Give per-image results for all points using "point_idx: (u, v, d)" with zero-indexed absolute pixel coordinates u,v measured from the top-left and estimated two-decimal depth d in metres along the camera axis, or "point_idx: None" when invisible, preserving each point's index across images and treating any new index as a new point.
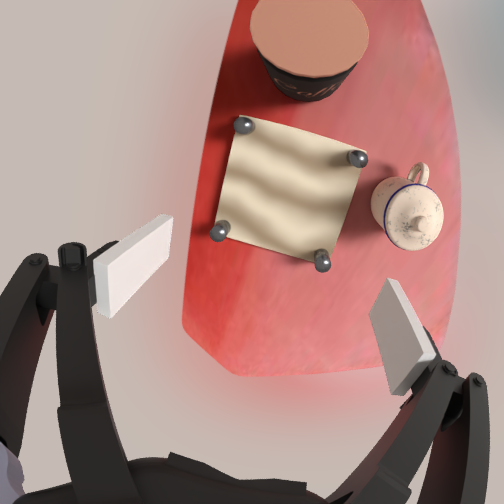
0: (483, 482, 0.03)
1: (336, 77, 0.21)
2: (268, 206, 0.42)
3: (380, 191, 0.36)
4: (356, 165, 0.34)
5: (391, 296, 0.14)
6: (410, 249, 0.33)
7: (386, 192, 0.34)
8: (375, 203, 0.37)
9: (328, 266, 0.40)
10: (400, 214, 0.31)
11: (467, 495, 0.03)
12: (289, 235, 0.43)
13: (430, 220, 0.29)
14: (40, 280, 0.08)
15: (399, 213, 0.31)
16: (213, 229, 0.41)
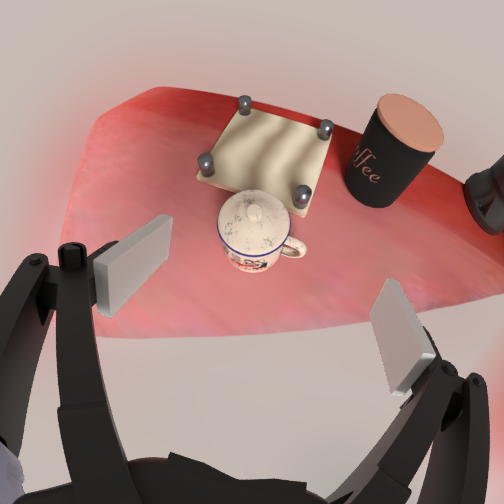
0: (483, 482, 0.03)
1: (380, 134, 0.32)
2: (258, 138, 0.48)
3: None
4: (298, 188, 0.40)
5: (391, 296, 0.14)
6: (220, 214, 0.34)
7: None
8: None
9: (203, 162, 0.42)
10: (261, 198, 0.34)
11: (467, 495, 0.03)
12: (231, 149, 0.47)
13: (256, 225, 0.32)
14: (40, 280, 0.08)
15: (263, 197, 0.34)
16: (248, 97, 0.47)
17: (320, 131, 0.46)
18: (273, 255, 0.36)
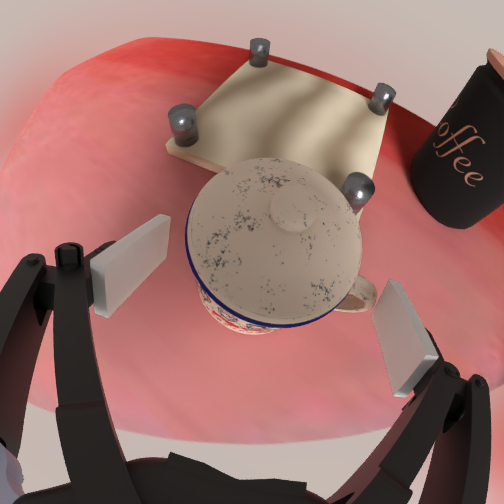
0: (484, 483, 0.03)
1: (499, 101, 0.11)
2: (277, 97, 0.27)
3: None
4: (350, 177, 0.20)
5: (393, 297, 0.14)
6: (196, 208, 0.13)
7: None
8: None
9: (176, 118, 0.21)
10: (301, 177, 0.14)
11: (468, 496, 0.03)
12: (231, 108, 0.26)
13: (297, 246, 0.11)
14: (37, 280, 0.08)
15: (304, 177, 0.14)
16: (266, 41, 0.27)
17: (375, 99, 0.26)
18: None
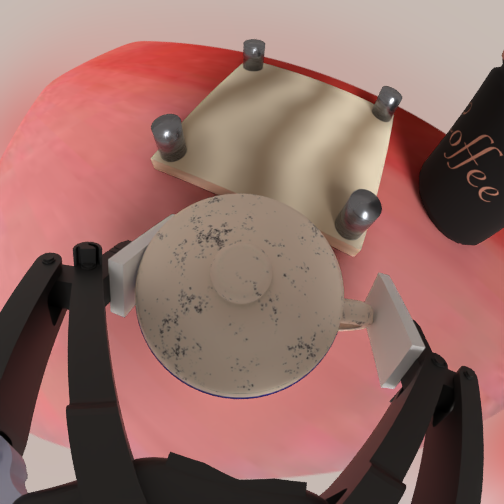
0: (478, 476, 0.04)
1: None
2: (273, 103, 0.25)
3: None
4: (354, 196, 0.18)
5: (382, 290, 0.14)
6: (138, 291, 0.11)
7: None
8: None
9: (159, 130, 0.19)
10: (247, 215, 0.11)
11: (463, 490, 0.03)
12: (223, 116, 0.24)
13: (258, 316, 0.09)
14: (53, 280, 0.08)
15: (251, 214, 0.11)
16: (261, 42, 0.25)
17: (379, 104, 0.24)
18: None
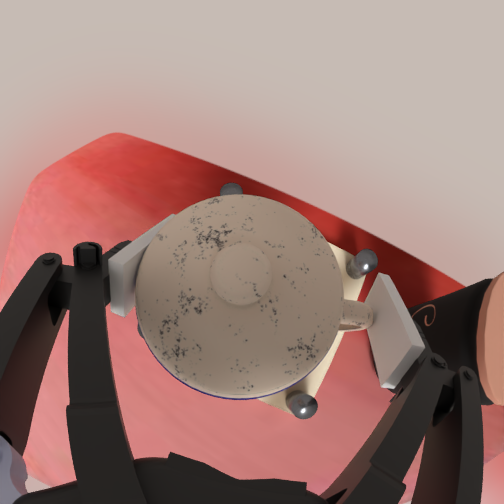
0: (478, 476, 0.04)
1: None
2: None
3: None
4: (296, 402, 0.22)
5: (382, 290, 0.14)
6: (138, 292, 0.11)
7: None
8: None
9: None
10: (247, 216, 0.11)
11: (463, 490, 0.03)
12: None
13: (258, 317, 0.09)
14: (53, 280, 0.08)
15: (250, 215, 0.11)
16: (239, 189, 0.29)
17: (353, 268, 0.29)
18: None
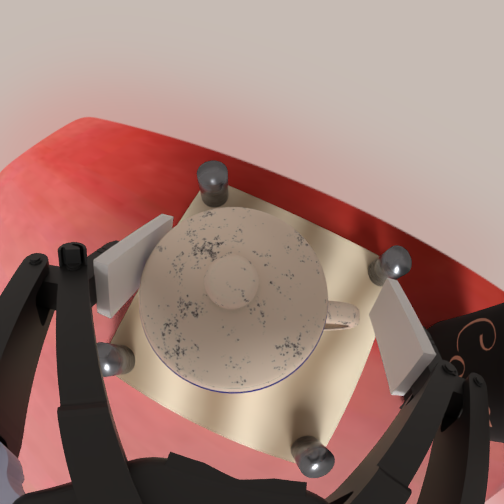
0: (483, 482, 0.03)
1: None
2: None
3: None
4: (306, 458, 0.14)
5: (391, 296, 0.14)
6: (142, 299, 0.12)
7: None
8: None
9: None
10: (238, 228, 0.13)
11: (467, 495, 0.03)
12: None
13: (248, 319, 0.10)
14: (40, 280, 0.08)
15: (241, 227, 0.13)
16: (223, 168, 0.21)
17: (378, 272, 0.21)
18: None
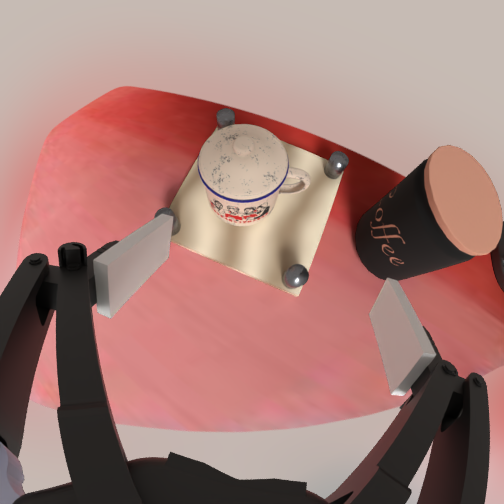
0: (483, 482, 0.03)
1: (421, 218, 0.21)
2: None
3: None
4: (290, 270, 0.30)
5: (391, 296, 0.14)
6: (201, 162, 0.26)
7: None
8: None
9: None
10: (244, 131, 0.26)
11: (467, 495, 0.03)
12: (204, 191, 0.35)
13: (251, 161, 0.24)
14: (40, 280, 0.08)
15: (245, 130, 0.26)
16: (231, 112, 0.34)
17: (328, 167, 0.35)
18: (276, 194, 0.29)
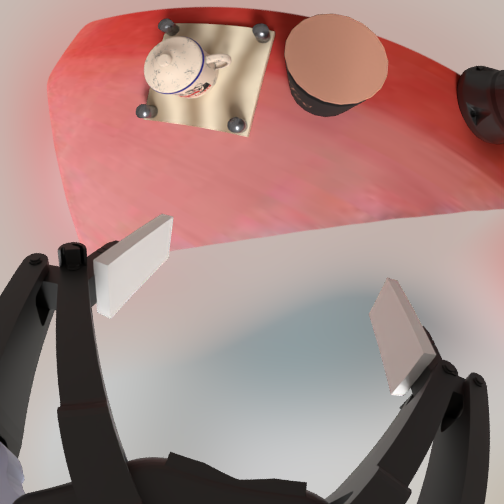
0: (483, 482, 0.03)
1: (292, 79, 0.25)
2: None
3: None
4: (229, 122, 0.38)
5: (391, 296, 0.14)
6: (145, 76, 0.31)
7: None
8: None
9: (141, 116, 0.39)
10: (166, 45, 0.28)
11: (467, 495, 0.03)
12: None
13: (172, 67, 0.29)
14: (40, 280, 0.08)
15: (167, 44, 0.28)
16: (168, 20, 0.31)
17: (255, 37, 0.33)
18: (205, 75, 0.33)
